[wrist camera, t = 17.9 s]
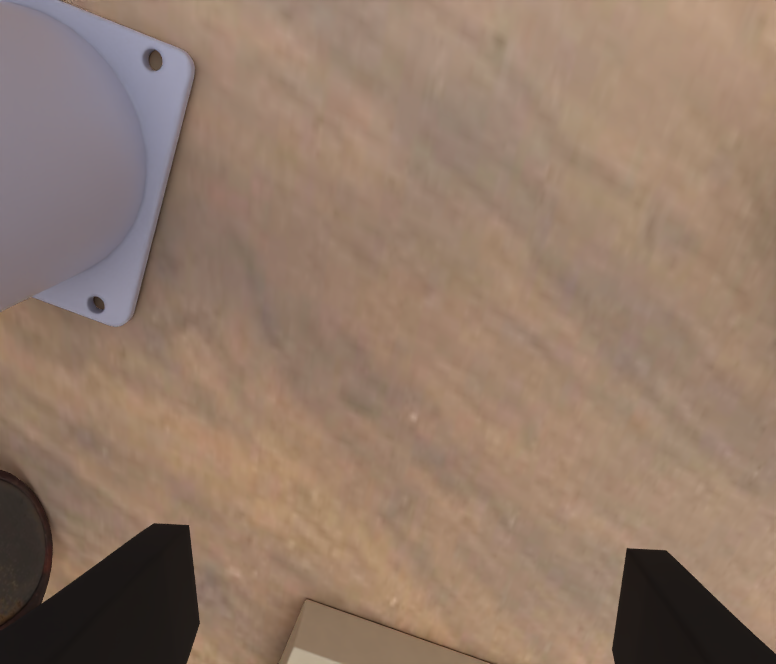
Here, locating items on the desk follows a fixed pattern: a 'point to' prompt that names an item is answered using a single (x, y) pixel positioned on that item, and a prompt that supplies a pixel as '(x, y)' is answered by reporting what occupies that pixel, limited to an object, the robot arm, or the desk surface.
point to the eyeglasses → (22, 550)
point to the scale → (358, 642)
